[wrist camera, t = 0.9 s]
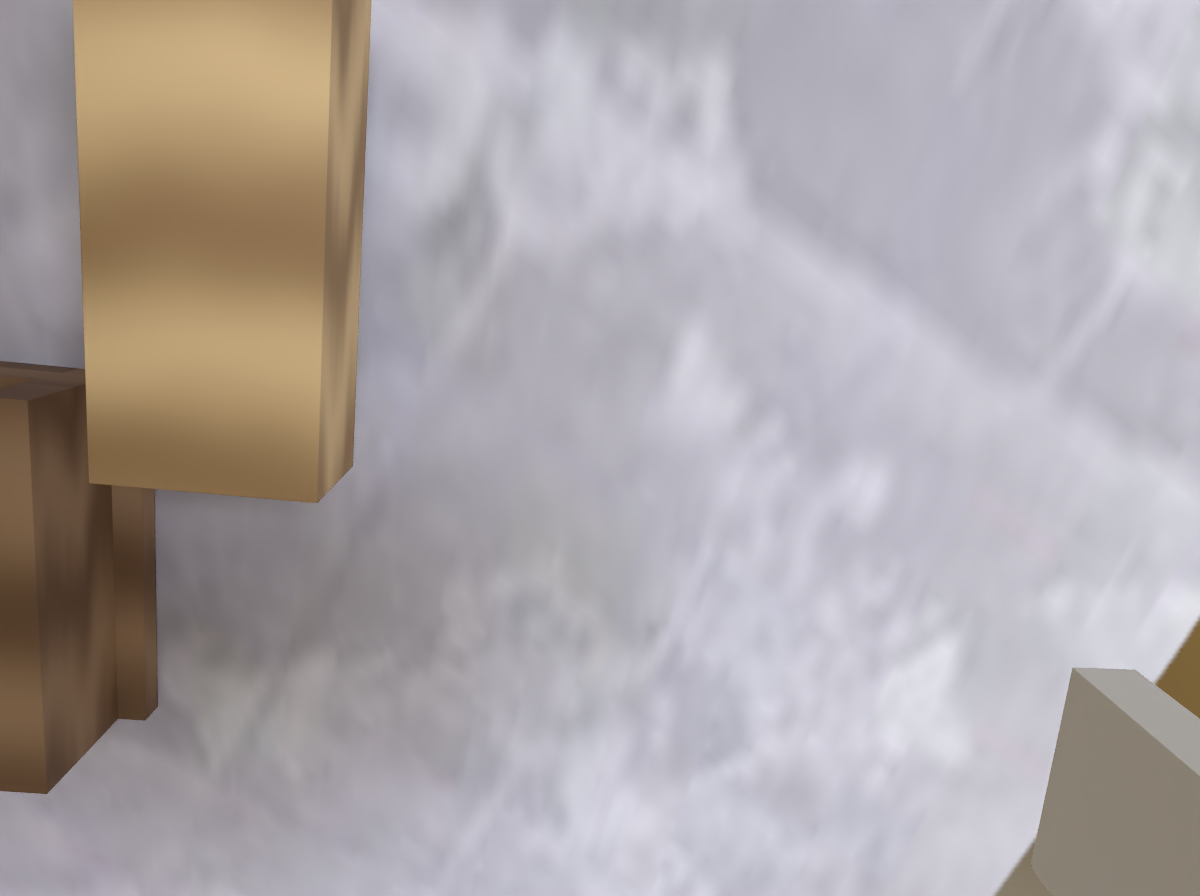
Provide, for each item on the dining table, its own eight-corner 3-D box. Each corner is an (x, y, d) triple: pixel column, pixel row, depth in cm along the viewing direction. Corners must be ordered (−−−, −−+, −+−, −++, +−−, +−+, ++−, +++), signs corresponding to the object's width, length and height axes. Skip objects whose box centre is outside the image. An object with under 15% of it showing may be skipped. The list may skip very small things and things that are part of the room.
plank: (152, -44, 23) (69, -102, 19) (372, -16, 24) (334, -68, 20) (158, 448, 26) (89, 483, 23) (352, 465, 27) (316, 502, 23)
